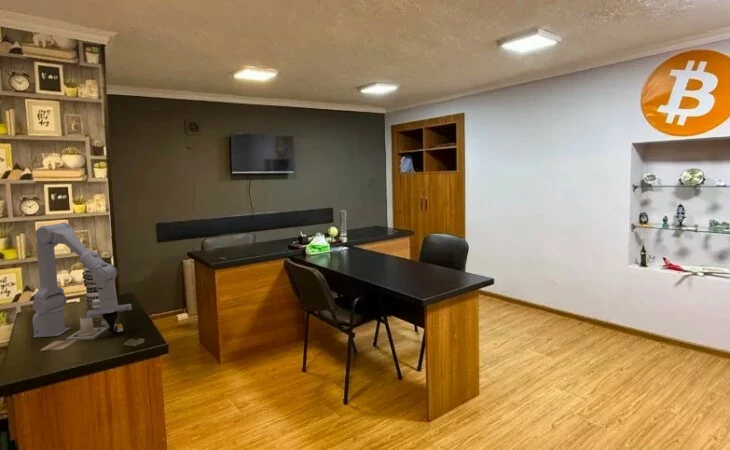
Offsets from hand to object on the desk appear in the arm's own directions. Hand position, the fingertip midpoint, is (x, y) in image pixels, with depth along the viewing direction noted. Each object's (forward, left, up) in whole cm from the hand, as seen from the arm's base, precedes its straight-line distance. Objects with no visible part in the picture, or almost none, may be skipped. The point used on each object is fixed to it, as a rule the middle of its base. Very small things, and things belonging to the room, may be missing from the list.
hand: (112, 331), depth 162 cm
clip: (-2, +5, 0) cm, 5 cm away
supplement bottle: (-16, +21, -2) cm, 26 cm away
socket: (-11, +3, -2) cm, 11 cm away
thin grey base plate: (-7, +9, -2) cm, 12 cm away
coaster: (-15, -7, -2) cm, 17 cm away
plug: (-11, +3, -2) cm, 11 cm away
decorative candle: (-24, +35, -2) cm, 42 cm away
